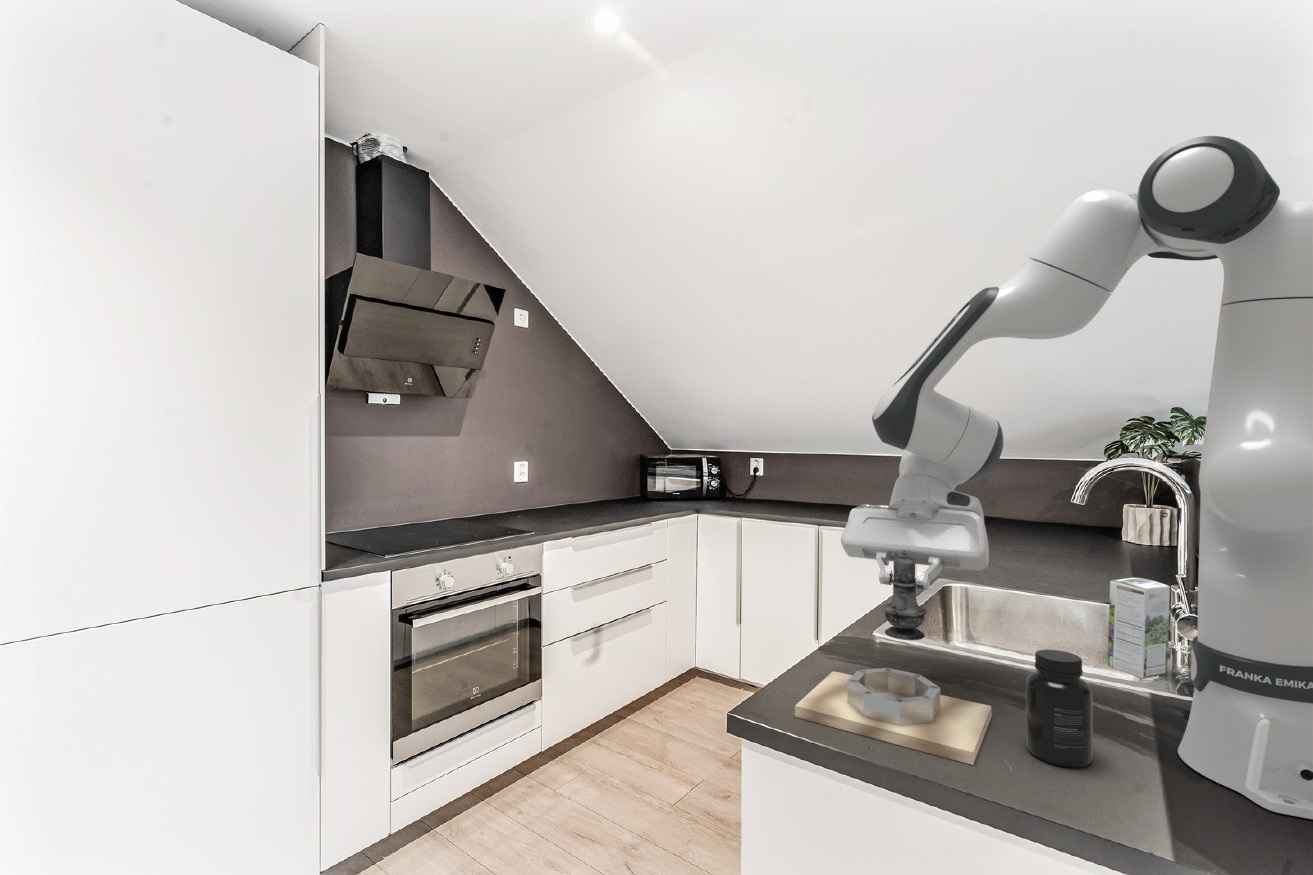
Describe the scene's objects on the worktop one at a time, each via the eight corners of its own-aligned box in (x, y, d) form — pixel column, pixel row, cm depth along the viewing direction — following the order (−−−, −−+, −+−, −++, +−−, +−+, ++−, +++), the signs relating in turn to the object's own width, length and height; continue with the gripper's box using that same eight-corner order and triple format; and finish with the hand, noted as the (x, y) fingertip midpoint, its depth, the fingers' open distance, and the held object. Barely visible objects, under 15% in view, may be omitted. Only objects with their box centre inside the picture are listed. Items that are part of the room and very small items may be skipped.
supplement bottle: (1098, 754, 78) (1099, 655, 77) (1084, 776, 73) (1085, 671, 73) (1034, 735, 82) (1035, 642, 82) (1017, 754, 78) (1018, 655, 77)
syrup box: (1130, 662, 108) (1131, 575, 107) (1169, 675, 102) (1170, 584, 102) (1106, 667, 106) (1107, 578, 105) (1145, 680, 100) (1146, 587, 100)
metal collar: (945, 701, 89) (945, 679, 89) (927, 733, 80) (927, 709, 80) (864, 683, 95) (864, 663, 95) (839, 710, 86) (839, 688, 86)
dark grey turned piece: (919, 644, 88) (919, 556, 87) (876, 635, 91) (876, 550, 91) (932, 632, 92) (932, 549, 92) (891, 625, 96) (890, 544, 96)
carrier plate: (991, 717, 88) (991, 706, 87) (973, 765, 75) (973, 752, 75) (832, 680, 100) (832, 671, 100) (794, 716, 88) (794, 705, 88)
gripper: (848, 491, 103) (826, 563, 95) (991, 498, 91) (979, 581, 83) (857, 516, 107) (836, 587, 99) (995, 526, 95) (984, 608, 87)
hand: (903, 584), depth 91 cm, fingers closed on dark grey turned piece, 4 cm apart
